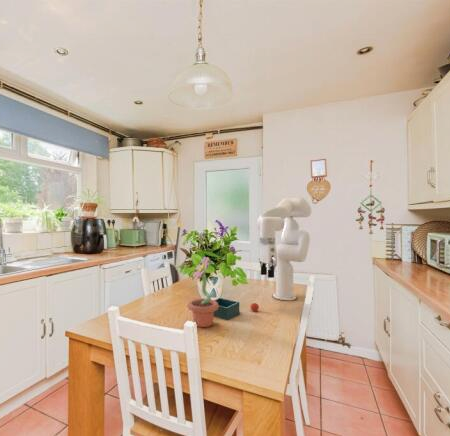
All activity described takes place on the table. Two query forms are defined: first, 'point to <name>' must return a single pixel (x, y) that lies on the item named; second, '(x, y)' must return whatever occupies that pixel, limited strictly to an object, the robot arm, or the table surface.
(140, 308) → the table surface
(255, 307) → the ball
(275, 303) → the table surface
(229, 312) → the box
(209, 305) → the decorative flower
